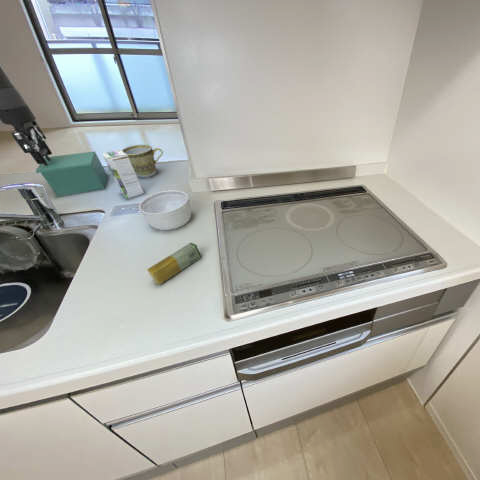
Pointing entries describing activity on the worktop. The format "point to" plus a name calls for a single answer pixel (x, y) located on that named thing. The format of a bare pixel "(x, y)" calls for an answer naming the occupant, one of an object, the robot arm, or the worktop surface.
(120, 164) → the syrup box
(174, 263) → the medication box
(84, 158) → the teal box lid
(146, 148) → the ceramic cup
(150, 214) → the ramekin
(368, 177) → the worktop surface
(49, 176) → the teal box
